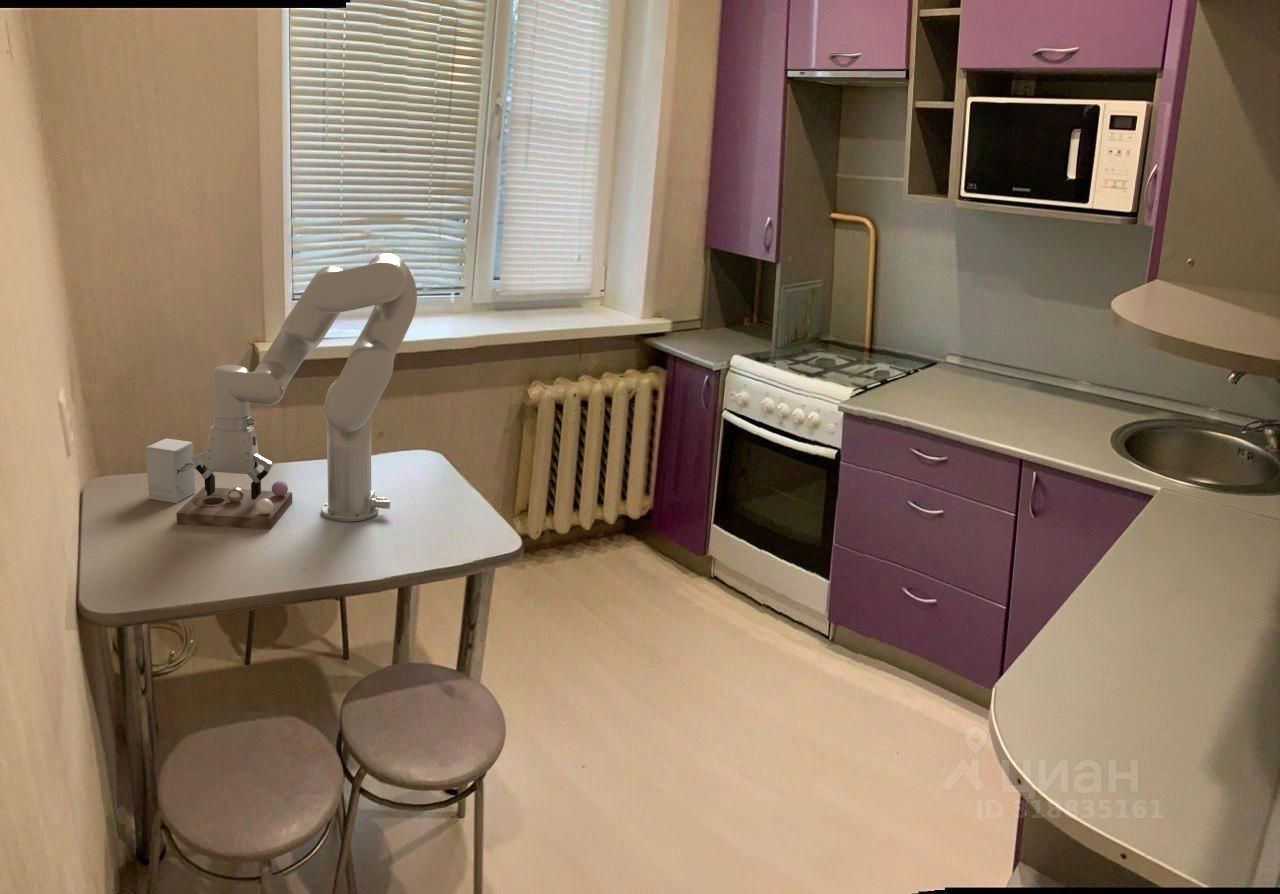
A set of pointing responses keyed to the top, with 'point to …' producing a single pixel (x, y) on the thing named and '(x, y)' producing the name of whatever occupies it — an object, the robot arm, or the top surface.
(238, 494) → the steel ball
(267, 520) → the board
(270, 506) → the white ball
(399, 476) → the top surface
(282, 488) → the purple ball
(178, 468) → the supplement box
